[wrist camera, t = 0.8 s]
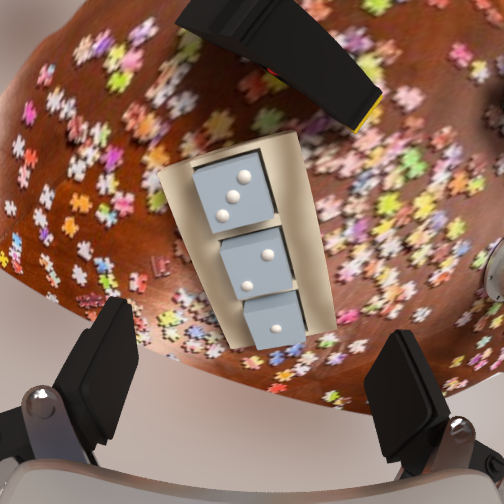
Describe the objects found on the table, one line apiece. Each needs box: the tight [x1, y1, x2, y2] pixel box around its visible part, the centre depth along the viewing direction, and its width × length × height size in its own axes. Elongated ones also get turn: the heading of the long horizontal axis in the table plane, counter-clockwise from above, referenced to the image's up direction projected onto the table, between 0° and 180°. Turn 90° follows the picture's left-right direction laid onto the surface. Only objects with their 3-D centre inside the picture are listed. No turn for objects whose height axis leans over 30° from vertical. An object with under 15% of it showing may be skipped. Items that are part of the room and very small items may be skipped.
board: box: [157, 129, 337, 349], centre depth 34 cm, size 14×24×4 cm, turn 16°
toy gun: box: [174, 0, 383, 134], centre depth 23 cm, size 5×18×12 cm
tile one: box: [243, 290, 306, 350], centre depth 35 cm, size 6×6×3 cm
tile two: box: [220, 227, 293, 300], centre depth 32 cm, size 6×6×3 cm
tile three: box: [192, 152, 274, 233], centre depth 28 cm, size 6×6×3 cm
